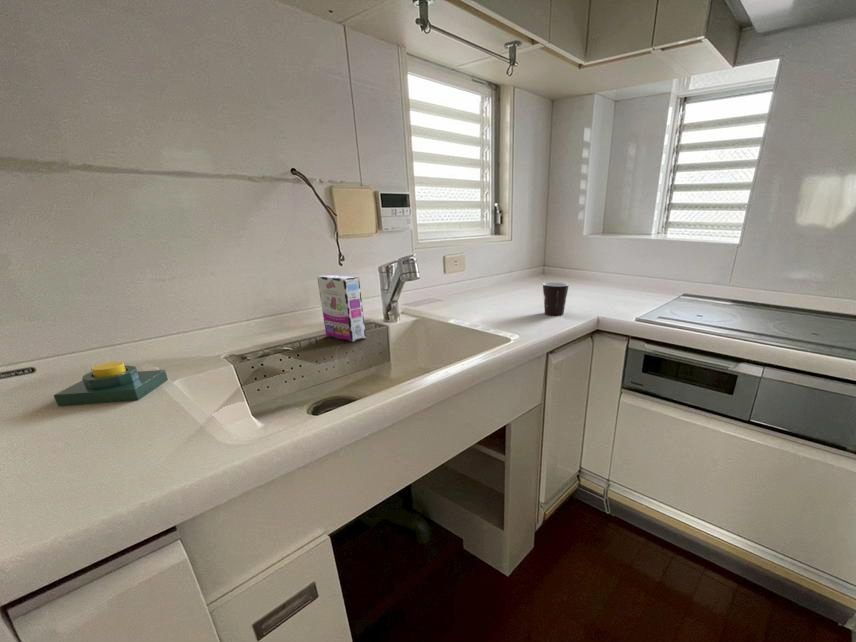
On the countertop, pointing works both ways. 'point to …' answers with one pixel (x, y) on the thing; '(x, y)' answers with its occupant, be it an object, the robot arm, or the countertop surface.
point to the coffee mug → (555, 298)
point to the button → (108, 369)
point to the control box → (111, 387)
